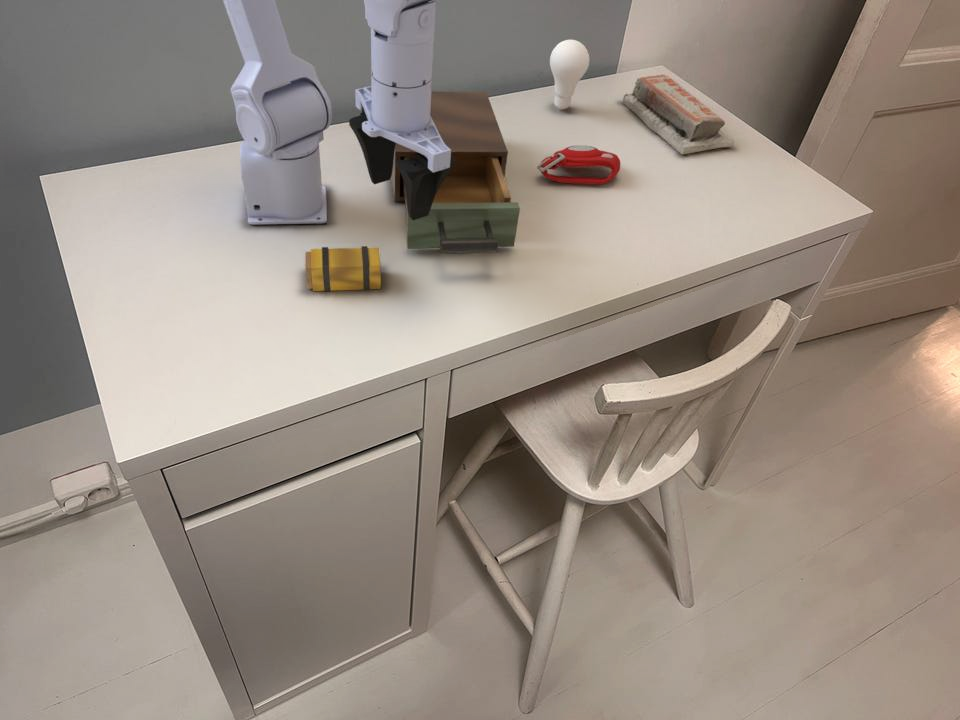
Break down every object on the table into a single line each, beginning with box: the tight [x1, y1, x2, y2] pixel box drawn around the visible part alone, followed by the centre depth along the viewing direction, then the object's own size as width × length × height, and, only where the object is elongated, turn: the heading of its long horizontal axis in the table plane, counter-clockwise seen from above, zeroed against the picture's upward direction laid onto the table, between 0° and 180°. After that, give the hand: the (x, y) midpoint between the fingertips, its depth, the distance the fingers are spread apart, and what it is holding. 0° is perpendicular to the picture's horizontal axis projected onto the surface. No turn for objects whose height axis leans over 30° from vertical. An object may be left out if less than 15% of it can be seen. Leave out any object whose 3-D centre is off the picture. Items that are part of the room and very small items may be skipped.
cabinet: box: [390, 90, 509, 203], centre depth 100 cm, size 16×14×7 cm
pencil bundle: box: [304, 245, 382, 292], centre depth 82 cm, size 8×4×4 cm, turn 100°
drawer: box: [401, 156, 521, 254], centre depth 90 cm, size 20×13×6 cm, turn 10°
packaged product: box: [622, 74, 735, 155], centre depth 117 cm, size 18×5×10 cm
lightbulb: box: [549, 39, 590, 111], centre depth 115 cm, size 6×6×11 cm
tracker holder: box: [536, 145, 621, 185], centre depth 103 cm, size 12×4×10 cm
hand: (399, 198), depth 78 cm, fingers open, 7 cm apart
